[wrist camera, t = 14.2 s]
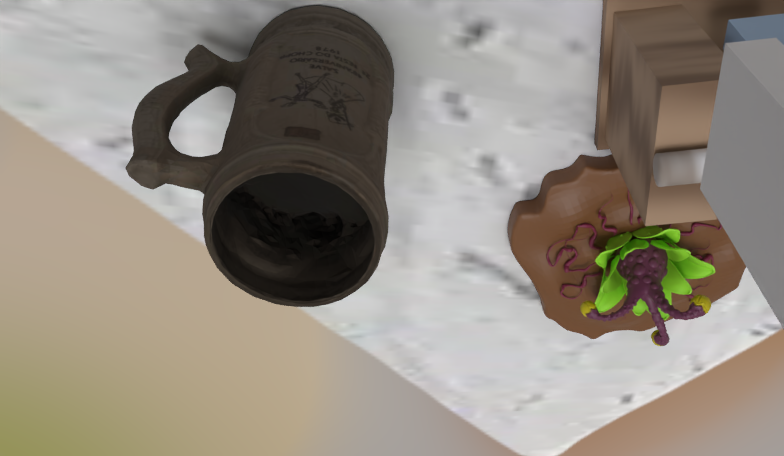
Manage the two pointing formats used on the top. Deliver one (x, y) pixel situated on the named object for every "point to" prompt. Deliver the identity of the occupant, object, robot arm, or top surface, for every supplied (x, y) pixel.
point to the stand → (664, 97)
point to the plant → (616, 255)
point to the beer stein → (285, 156)
